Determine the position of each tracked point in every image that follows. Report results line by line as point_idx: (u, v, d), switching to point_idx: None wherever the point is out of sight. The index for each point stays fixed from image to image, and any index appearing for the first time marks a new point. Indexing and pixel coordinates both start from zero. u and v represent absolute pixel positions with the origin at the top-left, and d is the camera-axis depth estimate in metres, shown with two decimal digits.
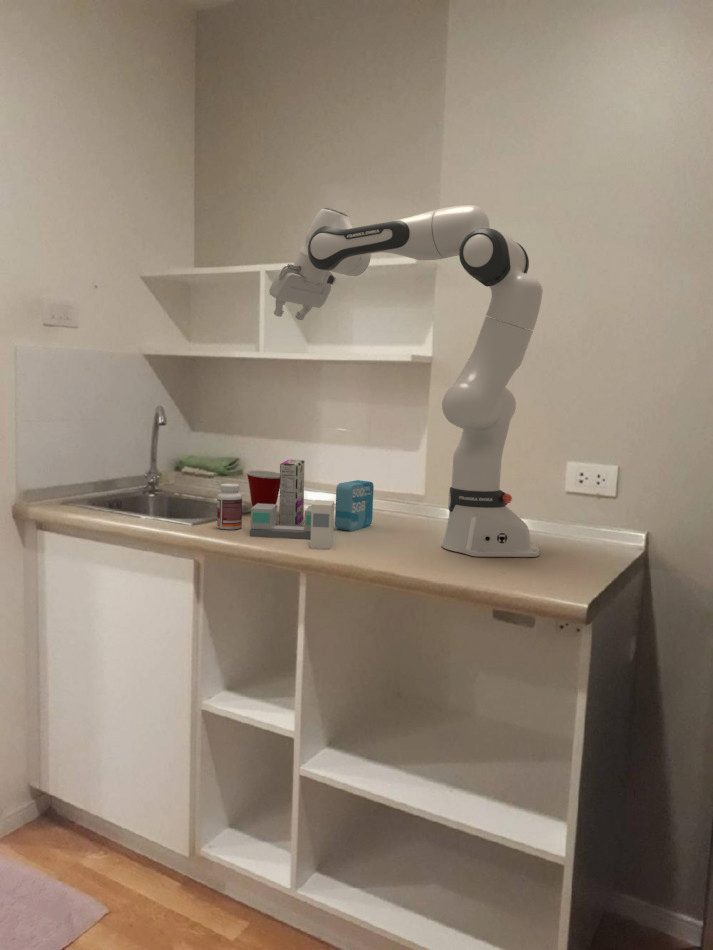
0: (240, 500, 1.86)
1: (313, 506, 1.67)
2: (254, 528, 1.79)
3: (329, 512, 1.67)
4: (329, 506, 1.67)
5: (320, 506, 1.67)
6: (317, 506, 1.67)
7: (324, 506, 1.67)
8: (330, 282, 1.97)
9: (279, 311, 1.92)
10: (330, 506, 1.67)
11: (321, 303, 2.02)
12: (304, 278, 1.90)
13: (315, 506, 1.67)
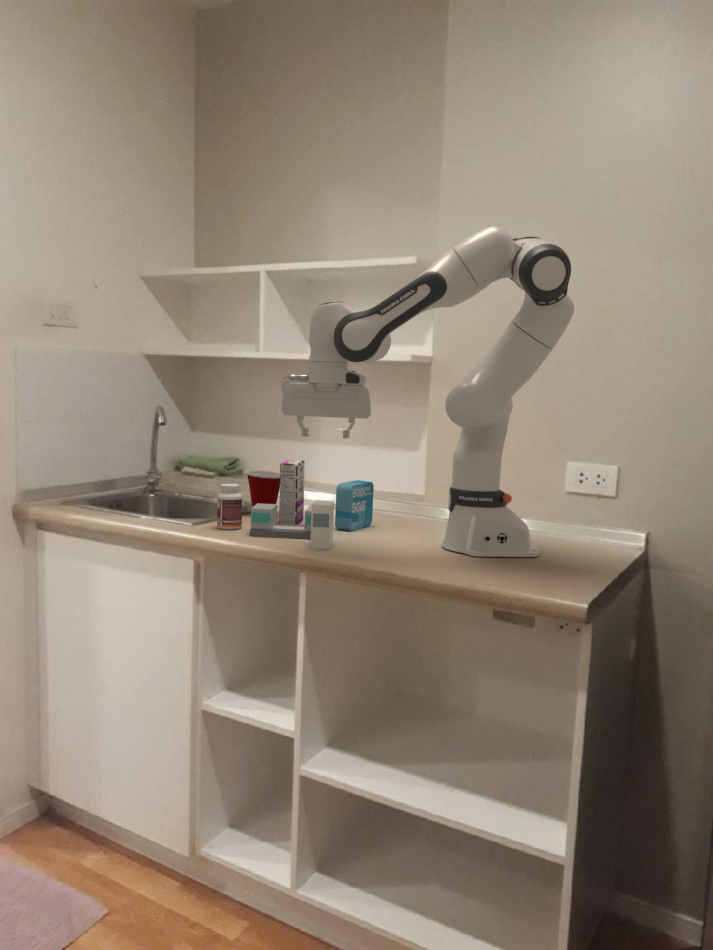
0: (240, 500, 1.86)
1: (313, 506, 1.67)
2: (254, 528, 1.79)
3: (329, 512, 1.67)
4: (329, 506, 1.67)
5: (320, 506, 1.67)
6: (317, 506, 1.67)
7: (324, 506, 1.67)
8: (354, 381, 1.64)
9: None
10: (330, 506, 1.67)
11: (364, 411, 1.66)
12: (313, 385, 1.66)
13: (315, 506, 1.67)
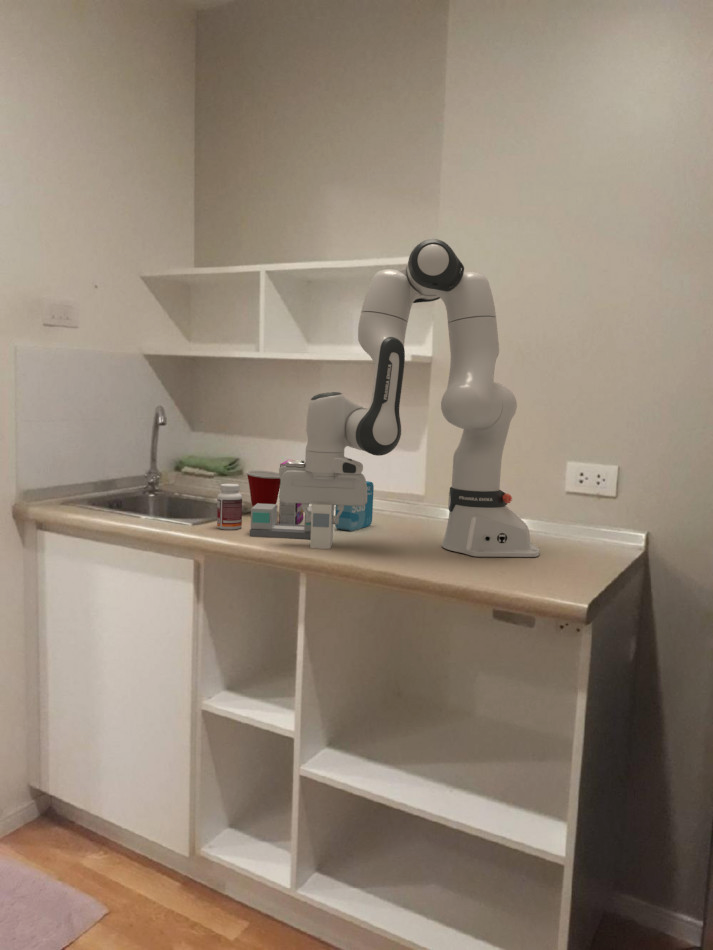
0: (240, 500, 1.86)
1: (313, 506, 1.67)
2: (254, 528, 1.79)
3: (329, 512, 1.67)
4: (329, 506, 1.67)
5: (320, 506, 1.67)
6: (317, 506, 1.67)
7: (324, 506, 1.67)
8: (350, 471, 1.66)
9: None
10: (330, 506, 1.67)
11: (360, 499, 1.68)
12: (310, 473, 1.68)
13: (315, 506, 1.67)
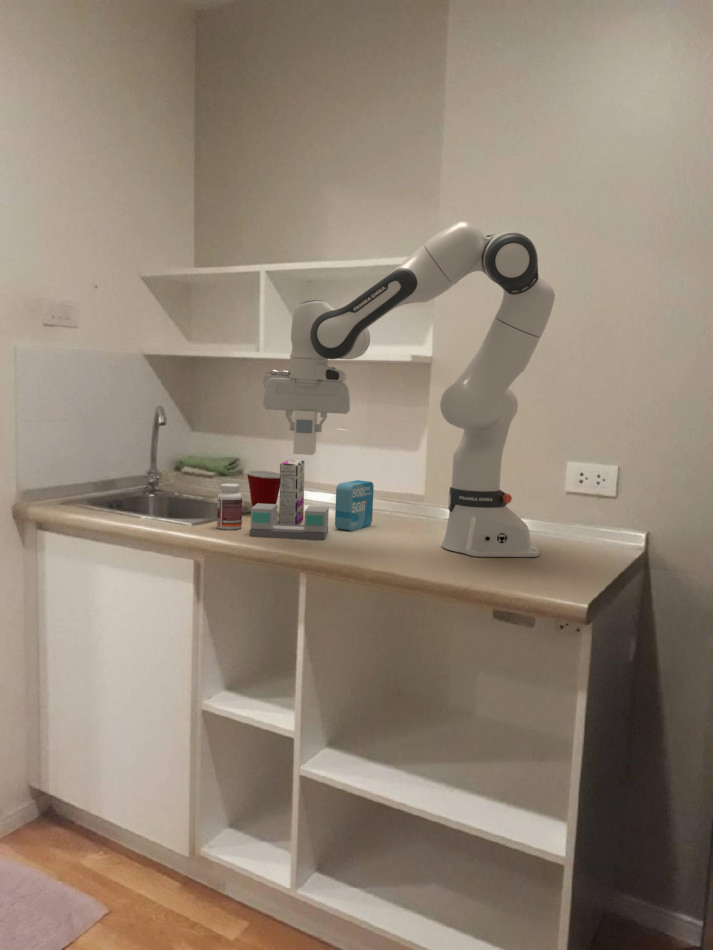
0: (240, 500, 1.86)
1: (297, 412, 1.71)
2: (254, 528, 1.79)
3: (312, 418, 1.71)
4: (312, 412, 1.71)
5: (303, 412, 1.71)
6: (300, 412, 1.71)
7: (307, 412, 1.71)
8: (333, 378, 1.70)
9: (290, 424, 1.74)
10: (313, 412, 1.71)
11: (343, 407, 1.72)
12: (294, 380, 1.72)
13: (298, 412, 1.71)
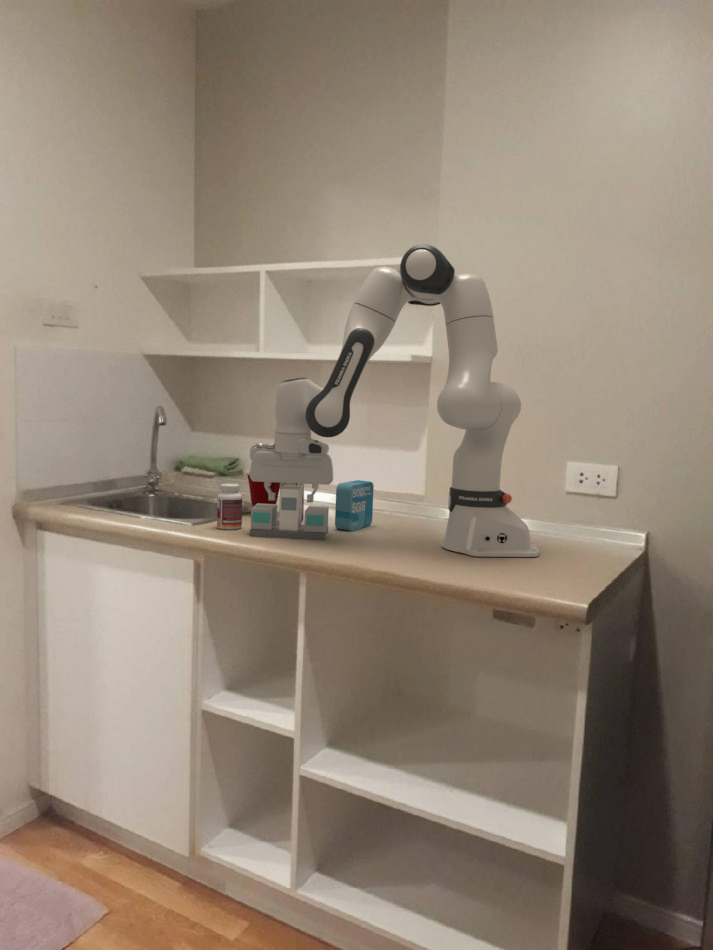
0: (240, 500, 1.86)
1: (281, 490, 1.78)
2: (254, 528, 1.79)
3: (296, 496, 1.78)
4: (296, 490, 1.78)
5: (288, 490, 1.78)
6: (285, 490, 1.78)
7: (292, 490, 1.78)
8: (316, 451, 1.77)
9: None
10: (297, 490, 1.78)
11: (326, 478, 1.79)
12: (279, 453, 1.79)
13: (283, 490, 1.78)
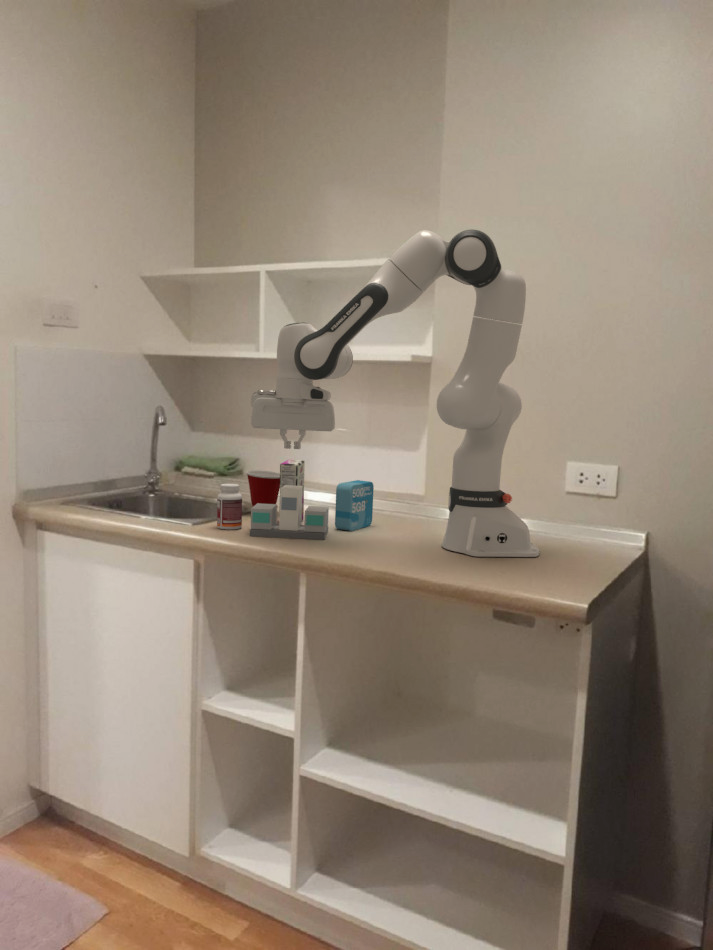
0: (240, 500, 1.86)
1: (281, 490, 1.78)
2: (254, 528, 1.79)
3: (296, 496, 1.78)
4: (296, 490, 1.78)
5: (288, 490, 1.78)
6: (285, 490, 1.78)
7: (292, 490, 1.78)
8: (318, 397, 1.76)
9: (284, 442, 1.80)
10: (297, 490, 1.78)
11: (327, 425, 1.78)
12: (280, 400, 1.78)
13: (283, 490, 1.78)
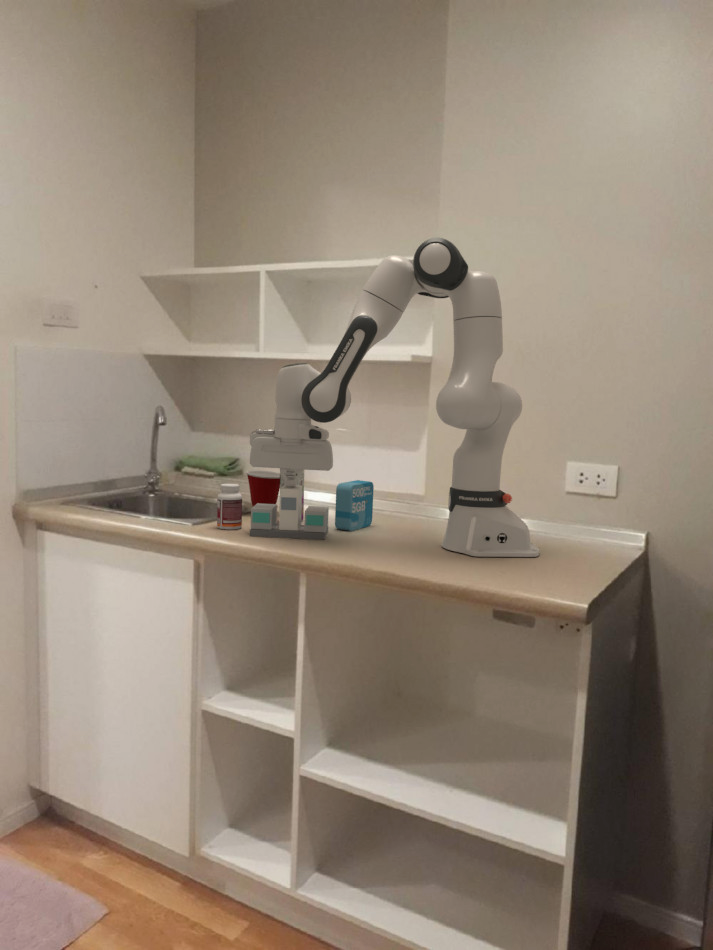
0: (240, 500, 1.86)
1: (281, 490, 1.78)
2: (254, 528, 1.79)
3: (296, 496, 1.78)
4: (296, 490, 1.78)
5: (288, 490, 1.78)
6: (285, 490, 1.78)
7: (291, 490, 1.78)
8: (316, 437, 1.77)
9: None
10: (297, 490, 1.78)
11: (326, 464, 1.79)
12: (278, 439, 1.79)
13: (283, 490, 1.78)
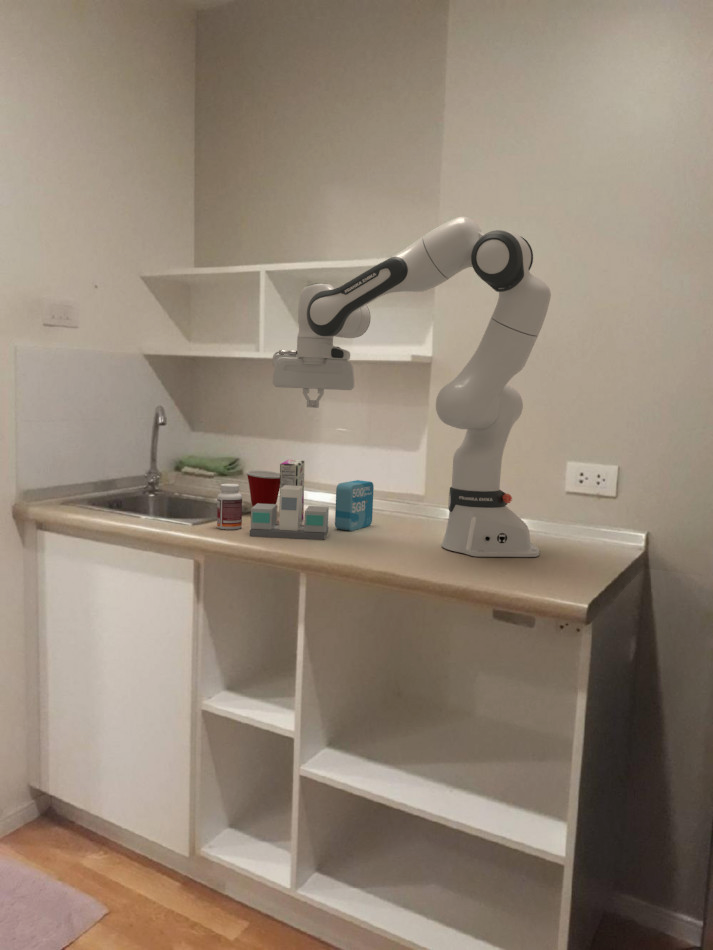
0: (240, 500, 1.86)
1: (281, 490, 1.78)
2: (254, 528, 1.79)
3: (296, 496, 1.78)
4: (296, 490, 1.78)
5: (288, 490, 1.78)
6: (285, 490, 1.78)
7: (292, 490, 1.78)
8: (338, 356, 1.80)
9: (307, 401, 1.84)
10: (297, 490, 1.78)
11: (347, 383, 1.82)
12: (301, 359, 1.82)
13: (283, 490, 1.78)
